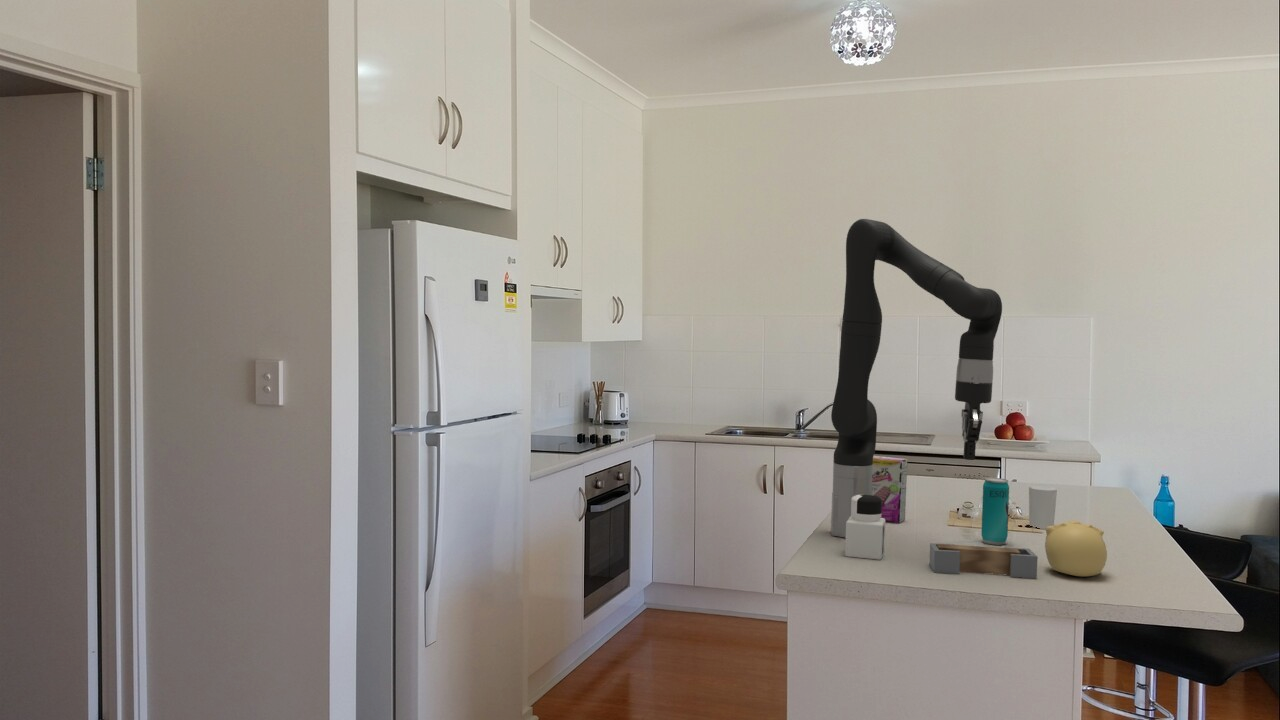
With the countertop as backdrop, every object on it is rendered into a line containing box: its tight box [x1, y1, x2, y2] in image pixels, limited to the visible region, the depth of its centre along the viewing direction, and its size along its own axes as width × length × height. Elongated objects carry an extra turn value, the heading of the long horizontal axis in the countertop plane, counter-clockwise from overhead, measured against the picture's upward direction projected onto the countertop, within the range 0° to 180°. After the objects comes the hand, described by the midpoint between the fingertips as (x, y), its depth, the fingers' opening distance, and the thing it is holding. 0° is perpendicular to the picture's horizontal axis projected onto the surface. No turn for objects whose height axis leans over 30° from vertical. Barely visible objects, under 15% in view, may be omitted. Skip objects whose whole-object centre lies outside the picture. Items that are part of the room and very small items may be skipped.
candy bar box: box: [872, 455, 908, 524], centre depth 251 cm, size 11×5×16 cm, turn 58°
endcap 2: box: [1003, 547, 1038, 579], centre depth 198 cm, size 5×7×4 cm
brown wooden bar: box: [937, 543, 1020, 576], centre depth 199 cm, size 16×4×5 cm, turn 79°
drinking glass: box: [1028, 485, 1058, 530], centre depth 246 cm, size 7×7×10 cm
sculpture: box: [1044, 520, 1108, 577], centre depth 199 cm, size 11×12×11 cm
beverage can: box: [981, 477, 1010, 546], centre depth 226 cm, size 6×6×15 cm
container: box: [844, 495, 886, 561], centre depth 211 cm, size 8×8×13 cm
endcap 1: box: [929, 542, 960, 575], centre depth 200 cm, size 5×7×4 cm
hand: (968, 459), depth 210 cm, fingers closed
